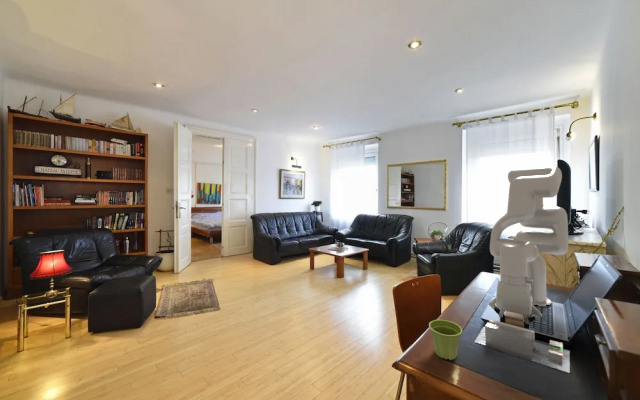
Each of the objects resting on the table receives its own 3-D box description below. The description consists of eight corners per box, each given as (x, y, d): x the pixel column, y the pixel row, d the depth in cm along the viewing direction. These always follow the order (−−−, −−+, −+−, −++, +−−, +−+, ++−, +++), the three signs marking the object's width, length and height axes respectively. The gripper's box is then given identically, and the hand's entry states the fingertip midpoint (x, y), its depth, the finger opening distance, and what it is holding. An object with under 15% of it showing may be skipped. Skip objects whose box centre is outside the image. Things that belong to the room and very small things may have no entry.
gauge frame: (483, 327, 96) (483, 310, 96) (569, 351, 80) (569, 331, 80) (474, 342, 87) (474, 324, 87) (569, 373, 71) (569, 351, 71)
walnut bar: (505, 322, 97) (505, 309, 97) (522, 325, 95) (522, 312, 94) (505, 337, 88) (505, 322, 88) (524, 341, 85) (524, 326, 85)
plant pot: (470, 361, 77) (469, 332, 77) (441, 366, 76) (440, 337, 76) (449, 343, 87) (448, 318, 86) (423, 347, 85) (422, 321, 85)
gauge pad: (490, 333, 91) (490, 319, 91) (560, 354, 78) (560, 337, 78) (489, 335, 90) (489, 320, 90) (560, 356, 77) (560, 339, 77)
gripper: (546, 281, 87) (547, 334, 88) (487, 272, 99) (488, 318, 100) (545, 288, 82) (546, 344, 82) (482, 277, 94) (483, 326, 94)
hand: (514, 329), depth 91 cm, fingers closed on walnut bar, 5 cm apart
